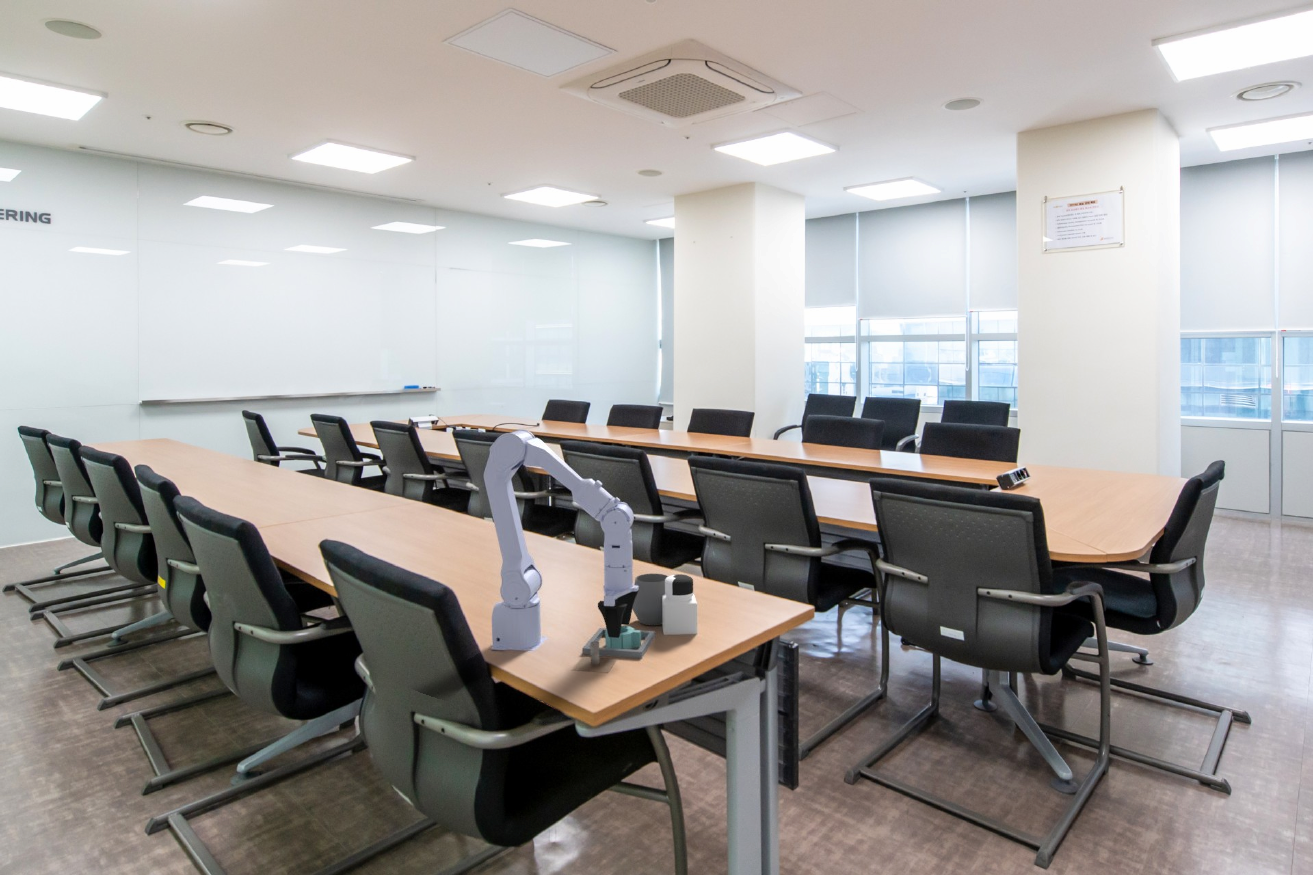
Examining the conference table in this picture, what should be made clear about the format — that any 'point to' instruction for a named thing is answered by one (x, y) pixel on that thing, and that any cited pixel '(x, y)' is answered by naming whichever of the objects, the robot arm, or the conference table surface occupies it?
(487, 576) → the conference table surface
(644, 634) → the tray
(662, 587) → the cup
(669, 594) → the medicine bottle
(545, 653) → the conference table surface
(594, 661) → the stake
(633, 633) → the ring
